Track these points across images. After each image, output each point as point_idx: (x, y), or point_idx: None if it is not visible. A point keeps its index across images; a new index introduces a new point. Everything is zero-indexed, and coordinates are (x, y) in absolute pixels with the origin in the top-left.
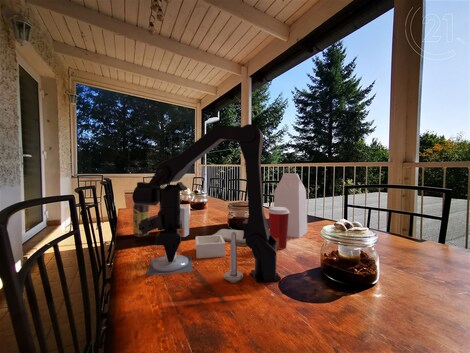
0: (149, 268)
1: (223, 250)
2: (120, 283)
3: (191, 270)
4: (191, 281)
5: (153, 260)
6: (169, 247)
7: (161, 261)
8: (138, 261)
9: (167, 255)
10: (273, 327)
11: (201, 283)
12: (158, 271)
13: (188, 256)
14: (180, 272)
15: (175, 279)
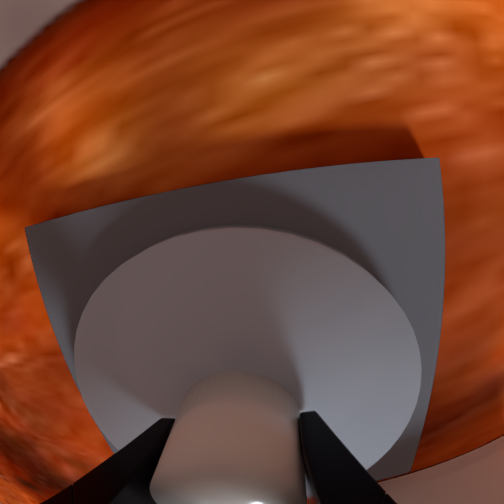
0: (143, 209)
1: None
2: (2, 86)
3: None
4: (77, 459)
5: (379, 189)
6: None
7: (233, 334)
8: (410, 29)
9: (108, 467)
10: (5, 497)
11: None
12: None
13: (402, 462)
14: (111, 446)
15: (70, 407)
